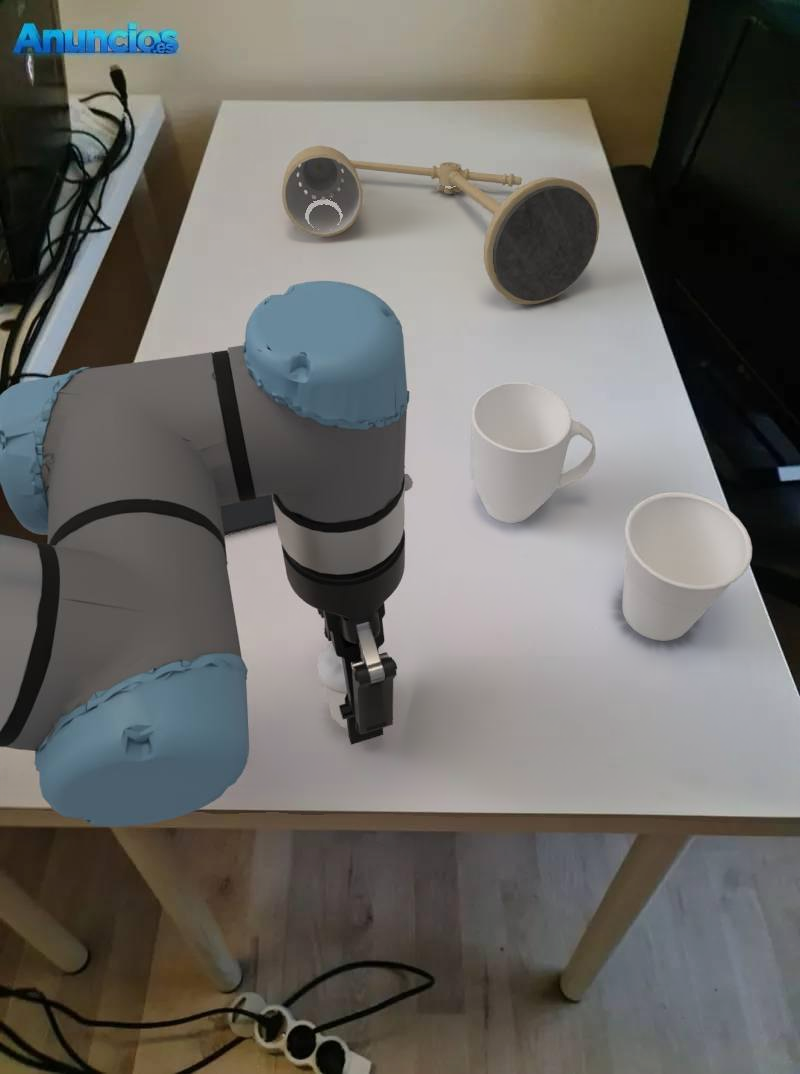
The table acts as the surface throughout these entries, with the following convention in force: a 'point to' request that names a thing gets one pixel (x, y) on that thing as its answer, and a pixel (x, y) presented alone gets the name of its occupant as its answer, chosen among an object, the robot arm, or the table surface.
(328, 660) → the milkshake
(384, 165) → the desk lamp
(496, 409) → the mug
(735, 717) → the table surface
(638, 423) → the table surface
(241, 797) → the table surface
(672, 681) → the table surface
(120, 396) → the robot arm
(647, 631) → the cup
